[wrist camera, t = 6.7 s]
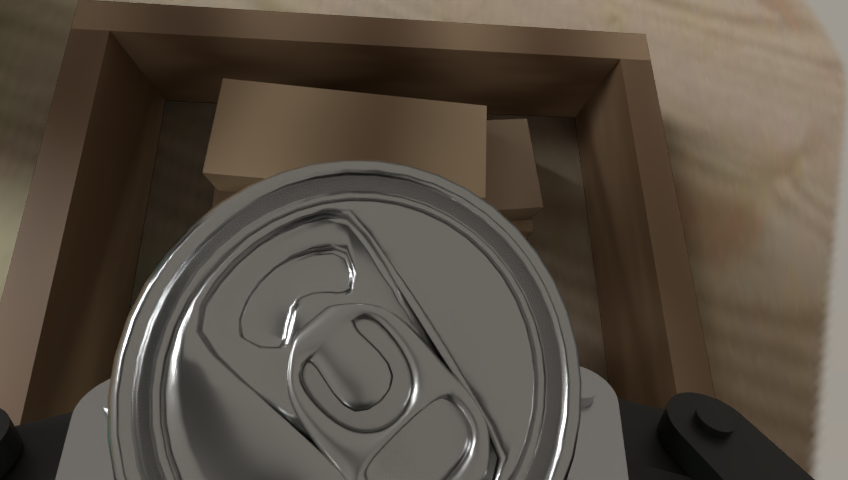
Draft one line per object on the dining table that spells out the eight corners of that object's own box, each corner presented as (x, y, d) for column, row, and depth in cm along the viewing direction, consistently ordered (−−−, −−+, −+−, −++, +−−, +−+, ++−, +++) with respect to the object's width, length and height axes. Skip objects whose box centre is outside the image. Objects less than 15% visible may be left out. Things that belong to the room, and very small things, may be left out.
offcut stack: (221, 248, 17) (172, 210, 13) (234, 141, 18) (193, 76, 14) (522, 251, 18) (563, 217, 14) (514, 150, 19) (549, 93, 15)
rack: (62, 468, 14) (-52, 504, 11) (140, 74, 19) (78, -1, 15) (647, 447, 16) (729, 471, 13) (596, 96, 21) (645, 33, 17)
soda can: (381, 271, 16) (388, 45, 5) (472, 375, 16) (724, 390, 4) (269, 364, 15) (-67, 346, 4) (362, 483, 14) (307, 919, 3)
